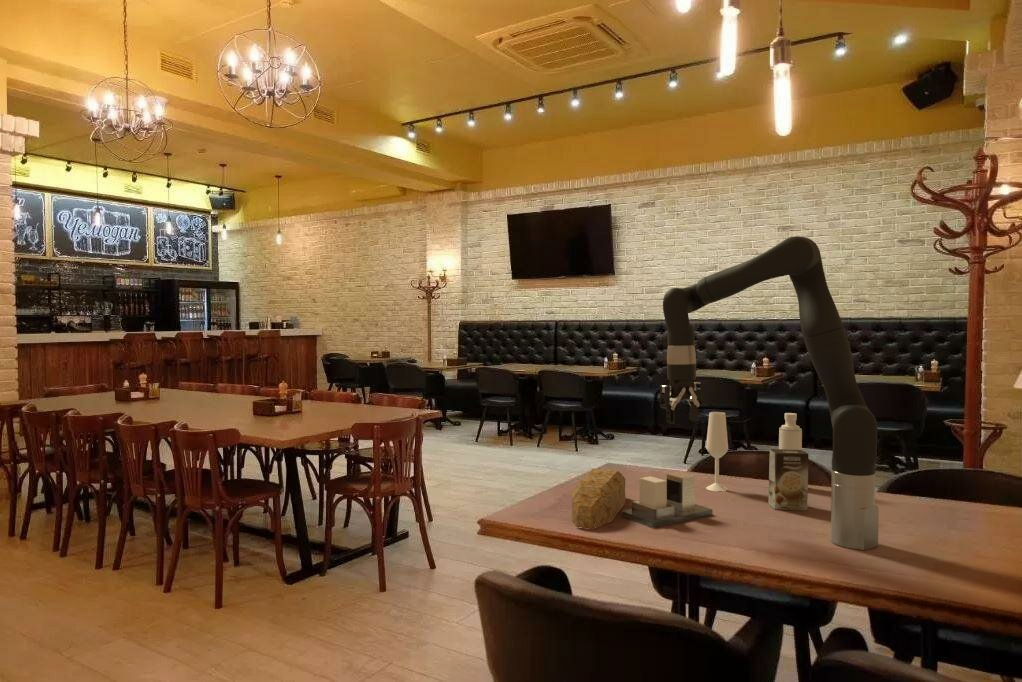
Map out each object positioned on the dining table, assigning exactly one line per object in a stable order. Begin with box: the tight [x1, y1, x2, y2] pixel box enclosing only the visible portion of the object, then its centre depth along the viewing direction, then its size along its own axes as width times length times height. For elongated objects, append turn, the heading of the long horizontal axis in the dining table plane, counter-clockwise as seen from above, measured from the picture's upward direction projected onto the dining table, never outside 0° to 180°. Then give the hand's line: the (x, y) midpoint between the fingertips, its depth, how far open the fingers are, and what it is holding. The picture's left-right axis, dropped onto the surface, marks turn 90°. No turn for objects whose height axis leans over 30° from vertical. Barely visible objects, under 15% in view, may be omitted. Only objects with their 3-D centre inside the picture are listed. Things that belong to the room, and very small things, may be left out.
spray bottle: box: [778, 412, 803, 451], centre depth 215 cm, size 7×7×25 cm
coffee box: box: [767, 448, 810, 511], centre depth 192 cm, size 9×6×16 cm
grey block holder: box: [621, 471, 713, 529], centre depth 184 cm, size 12×22×10 cm, turn 121°
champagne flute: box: [705, 411, 729, 492], centre depth 213 cm, size 7×7×24 cm
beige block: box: [639, 475, 667, 509], centre depth 181 cm, size 5×6×9 cm
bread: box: [571, 468, 626, 530], centre depth 190 cm, size 36×11×10 cm, turn 160°
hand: (682, 422), depth 182 cm, fingers open, 8 cm apart
